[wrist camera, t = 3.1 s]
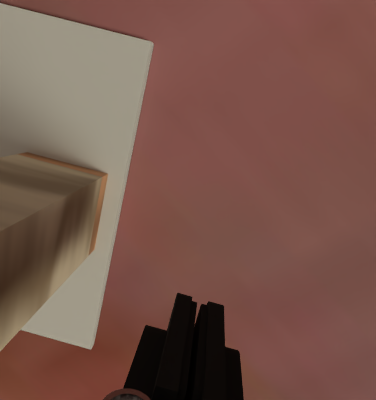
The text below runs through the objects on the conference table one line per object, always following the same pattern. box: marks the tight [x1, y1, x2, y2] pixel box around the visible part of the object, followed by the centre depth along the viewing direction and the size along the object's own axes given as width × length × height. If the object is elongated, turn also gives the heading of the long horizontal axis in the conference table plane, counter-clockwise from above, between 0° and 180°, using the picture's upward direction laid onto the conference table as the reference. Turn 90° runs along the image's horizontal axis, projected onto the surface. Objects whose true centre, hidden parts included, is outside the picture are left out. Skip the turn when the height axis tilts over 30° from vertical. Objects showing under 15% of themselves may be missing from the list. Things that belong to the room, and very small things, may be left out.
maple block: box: [0, 152, 108, 351], centre depth 14 cm, size 5×5×11 cm
